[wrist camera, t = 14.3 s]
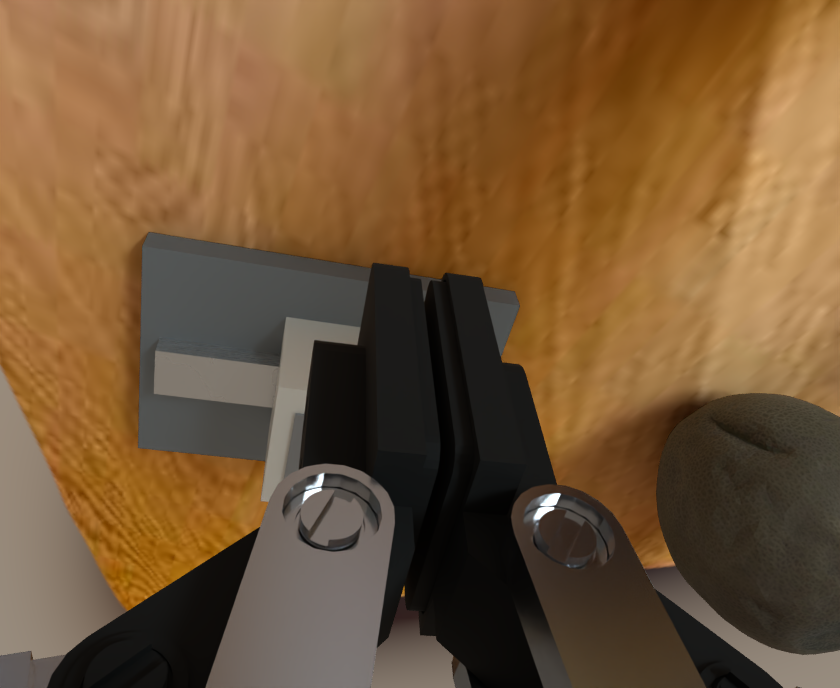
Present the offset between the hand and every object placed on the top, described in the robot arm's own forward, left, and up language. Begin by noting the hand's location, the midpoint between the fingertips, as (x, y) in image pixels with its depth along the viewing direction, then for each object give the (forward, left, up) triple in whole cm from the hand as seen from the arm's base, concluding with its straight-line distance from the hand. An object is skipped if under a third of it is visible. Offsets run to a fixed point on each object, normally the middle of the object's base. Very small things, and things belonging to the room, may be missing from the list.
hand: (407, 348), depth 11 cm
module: (-1, +20, -24) cm, 31 cm away
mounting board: (-1, +20, -25) cm, 32 cm away
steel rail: (-1, +20, -24) cm, 31 cm away
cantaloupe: (-29, +21, -26) cm, 44 cm away
